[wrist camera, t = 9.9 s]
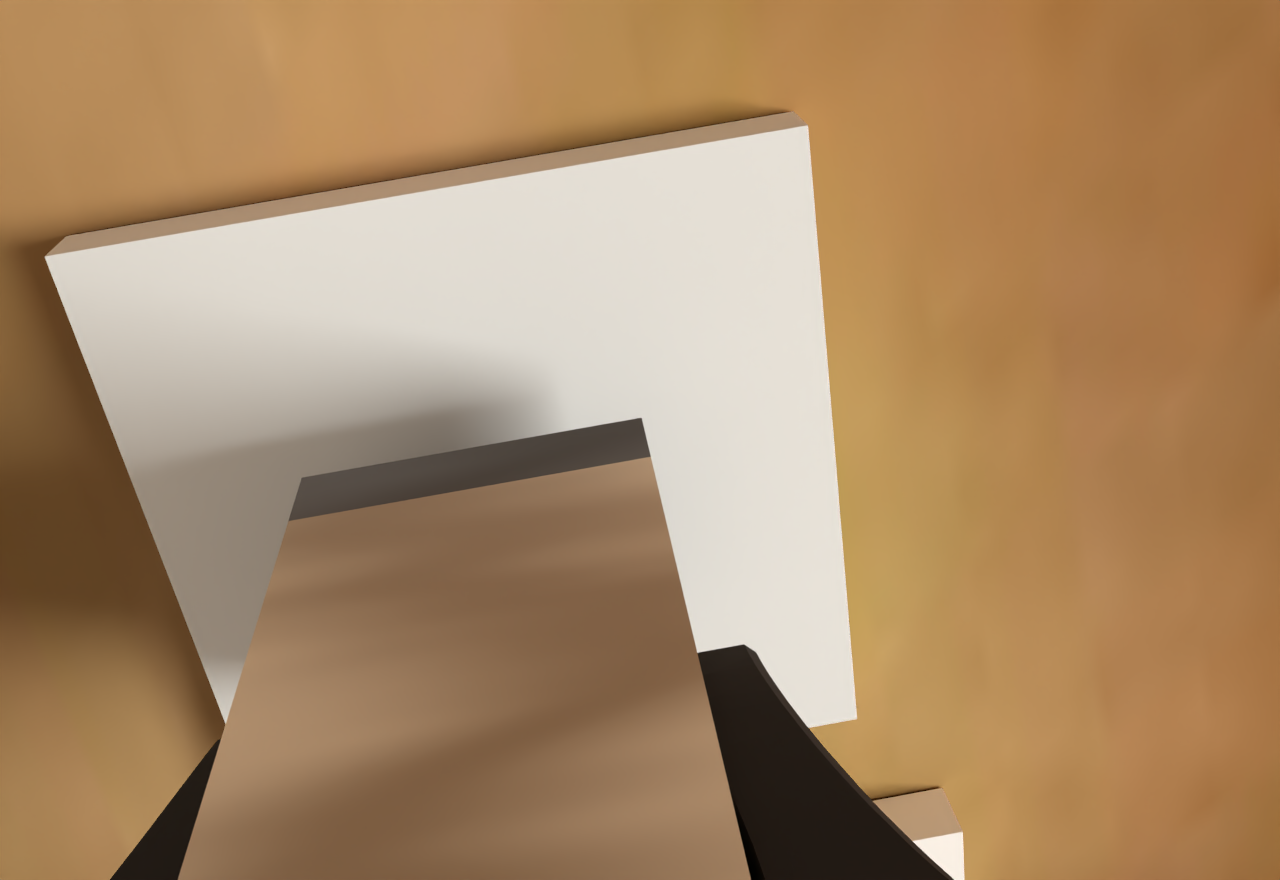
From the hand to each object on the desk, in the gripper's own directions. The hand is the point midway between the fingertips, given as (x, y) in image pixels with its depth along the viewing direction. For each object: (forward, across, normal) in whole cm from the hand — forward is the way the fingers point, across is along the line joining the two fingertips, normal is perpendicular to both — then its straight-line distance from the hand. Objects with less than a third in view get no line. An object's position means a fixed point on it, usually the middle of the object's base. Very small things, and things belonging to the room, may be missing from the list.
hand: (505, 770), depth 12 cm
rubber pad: (+6, 0, 0) cm, 6 cm away
